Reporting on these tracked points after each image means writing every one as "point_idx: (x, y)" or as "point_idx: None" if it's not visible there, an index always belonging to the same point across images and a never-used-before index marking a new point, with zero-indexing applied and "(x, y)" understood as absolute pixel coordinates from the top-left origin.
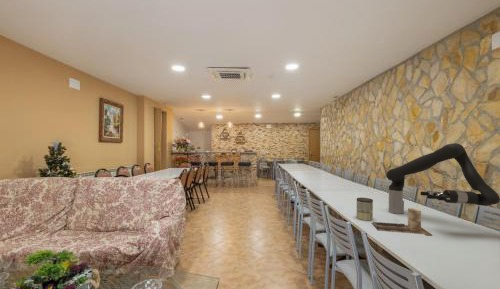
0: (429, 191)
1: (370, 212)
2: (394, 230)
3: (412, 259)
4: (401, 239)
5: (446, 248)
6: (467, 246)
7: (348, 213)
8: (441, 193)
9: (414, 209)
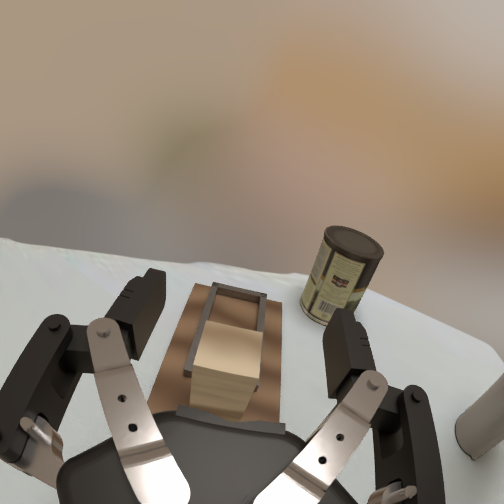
0: (407, 408)
1: (317, 284)
2: (195, 327)
3: (28, 253)
4: None
5: None
6: None
7: (375, 293)
8: (140, 453)
9: (233, 349)
